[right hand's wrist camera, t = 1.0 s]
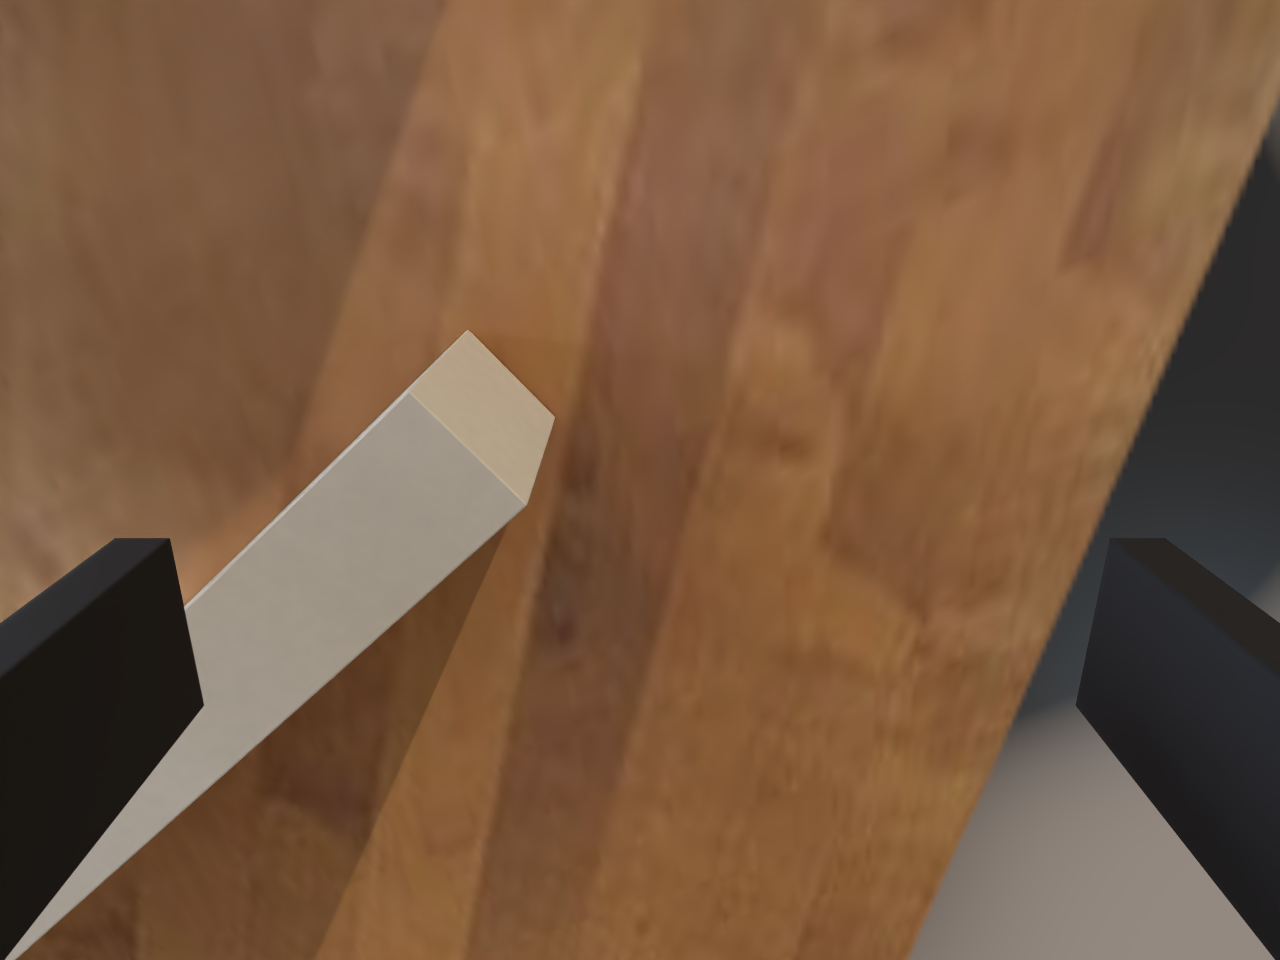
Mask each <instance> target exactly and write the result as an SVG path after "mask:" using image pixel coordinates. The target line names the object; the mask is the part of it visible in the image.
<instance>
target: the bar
mask: <svg viewBox="0 0 1280 960" xmlns="http://www.w3.org/2000/svg"><path fill="white" fill-rule="evenodd" d="M554 420H555V417H554V416H553V415H552V414H551V413H550V412H549V411H548V410H547V409H546V408H545V407H544V405H543V404H542V403H541V402H540V401H539V400H538V399H537V398H536V397H535V396H534V395H533V394H532V393H531V392H530V391H529V390H528V389H527V388H526V387H525V386H524V385H523V384H522V383H521V382H520V381H519V380H518V379H517V378H516V377H515V376H514V375H513V374H512V373H511V372H510V371H509V370H508V369H507V368H506V367H505V366H504V365H503V364H502V363H501V362H500V361H499V360H498V359H497V358H496V357H495V356H494V355H493V354H492V353H491V352H490V351H489V350H488V349H487V348H486V347H485V346H484V345H483V344H482V343H481V342H480V341H479V340H478V339H477V338H476V337H475V336H474V335H473V334H472V333H471V332H470V331H469V330H467V331H466V332H465V333H464V334H463V335H461V336H460V337H459V338H458V339H457V340H456V341H455V342H454V343H453V344H452V345H451V346H450V347H449V348H448V349H447V350H446V351H445V352H444V353H443V354H442V355H441V356H440V357H439V358H438V359H437V360H436V361H435V362H434V363H433V364H432V365H431V366H430V367H429V368H428V369H427V370H426V371H425V372H424V373H423V374H422V375H421V376H420V377H419V378H418V379H417V380H415V381H414V382H413V383H412V384H411V385H410V386H409V387H408V388H407V389H406V390H405V391H404V392H403V393H402V394H401V395H400V396H399V397H398V398H397V399H396V400H395V401H394V402H393V403H392V404H391V405H390V406H389V407H388V408H387V409H386V410H385V411H384V412H383V413H382V414H381V415H380V416H379V417H378V418H377V419H376V420H375V421H374V422H373V423H372V424H371V425H369V426H368V427H367V428H366V429H365V430H364V431H363V432H362V433H361V434H360V435H359V436H358V437H357V438H356V439H355V440H354V441H353V442H352V443H351V444H350V445H349V446H348V447H347V448H346V449H345V450H344V451H343V452H342V453H341V454H340V455H339V456H338V457H337V458H336V459H335V460H334V461H333V462H332V463H331V464H330V465H329V466H328V467H327V468H326V469H325V470H324V471H322V472H321V473H320V474H319V475H318V476H317V477H316V478H315V479H314V480H313V481H312V482H311V483H310V484H309V485H308V486H307V487H306V488H305V489H304V490H303V491H302V492H301V493H300V494H299V495H298V496H297V497H296V498H295V499H294V500H293V501H292V502H291V503H290V504H289V505H288V506H287V507H286V508H285V509H284V510H283V511H282V512H281V513H280V514H279V515H278V516H276V517H275V518H274V519H273V520H272V521H271V522H270V523H269V524H268V525H267V526H266V527H265V528H264V529H263V530H262V531H261V532H260V533H259V534H258V535H257V536H256V537H255V538H254V539H253V540H252V541H251V542H250V543H249V544H248V545H247V546H246V547H245V548H244V549H243V550H242V551H241V552H240V553H239V554H238V555H237V556H236V557H235V558H234V559H233V560H232V561H230V562H229V563H228V564H227V565H226V566H225V567H224V568H223V569H222V570H221V571H220V572H219V573H218V574H217V575H216V576H215V577H214V578H213V579H212V580H211V581H210V582H209V583H208V584H207V585H206V586H205V587H204V588H203V589H202V590H201V591H200V592H199V593H198V594H197V595H196V596H195V597H194V598H193V599H192V600H191V601H190V602H189V603H188V604H187V605H186V606H185V607H184V609H185V614H186V619H187V624H188V629H189V634H190V638H191V643H192V648H193V653H194V658H195V663H196V668H197V672H198V677H199V682H200V687H201V692H202V697H203V702H204V706H203V708H202V709H201V710H200V712H199V713H198V714H197V715H196V717H195V718H194V719H193V720H192V722H191V723H190V724H189V726H188V727H187V728H186V729H185V731H184V732H183V733H182V734H181V736H180V737H179V738H178V740H177V741H176V742H175V743H174V745H173V746H172V747H171V749H170V750H169V751H168V752H167V754H166V755H165V756H164V757H163V759H162V760H161V761H160V763H159V764H158V765H157V766H156V768H155V769H154V770H153V771H152V773H151V774H150V775H149V777H148V778H147V779H146V780H145V782H144V783H143V784H142V785H141V787H140V788H139V789H138V791H137V792H136V793H135V794H134V796H133V797H132V798H131V800H130V801H129V802H128V803H127V805H126V806H125V807H124V808H123V810H122V811H121V812H120V814H119V815H118V816H117V817H116V819H115V820H114V821H113V822H112V824H111V825H110V826H109V828H108V829H107V830H106V831H105V833H104V834H103V835H102V836H101V838H100V839H99V840H98V842H97V843H96V844H95V845H94V847H93V848H92V849H91V851H90V852H89V853H88V854H87V856H86V857H85V858H84V859H83V861H82V862H81V863H80V865H79V866H78V867H77V868H76V870H75V871H74V872H73V873H72V875H71V876H70V877H69V879H68V880H67V881H66V882H65V884H64V885H63V886H62V887H61V889H60V890H59V891H58V893H57V894H56V895H55V896H54V898H53V899H52V900H51V901H50V903H49V904H48V905H47V907H46V908H45V909H44V910H43V912H42V913H41V914H40V916H39V917H38V918H37V919H36V921H35V922H34V923H33V924H32V926H31V927H30V928H29V930H28V931H27V932H26V933H25V935H24V936H23V937H22V938H21V940H20V941H19V942H18V944H17V945H16V946H15V947H14V949H13V950H12V951H11V952H10V954H9V955H8V956H7V958H6V959H5V960H16V959H17V958H18V957H20V956H21V955H22V954H23V953H24V952H25V951H26V950H27V949H29V948H30V947H31V946H32V945H33V944H34V943H35V942H36V941H38V940H39V939H40V938H41V937H42V936H43V935H44V934H45V933H47V932H48V931H49V930H50V929H51V928H52V927H53V926H54V925H56V924H57V923H58V922H59V921H60V920H61V919H62V918H63V917H65V916H66V915H67V914H68V913H69V912H70V911H71V910H72V909H74V908H75V907H76V906H77V905H78V904H79V903H80V902H81V901H83V900H84V899H85V898H86V897H87V896H88V895H89V894H90V893H92V892H93V891H94V890H95V889H96V888H97V887H98V886H99V885H101V884H102V883H103V882H104V881H105V880H106V879H107V878H108V877H110V876H111V875H112V874H113V873H114V872H115V871H116V870H117V869H119V868H120V867H121V866H122V865H123V864H124V863H125V862H126V861H128V860H129V859H130V858H131V857H132V856H133V855H134V854H135V853H137V852H138V851H139V850H140V849H141V848H142V847H143V846H144V845H146V844H147V843H148V842H149V841H150V840H151V839H152V838H153V837H155V836H156V835H157V834H158V833H159V832H160V831H161V830H162V829H164V828H165V827H166V826H167V825H168V824H169V823H170V822H171V821H173V820H174V819H175V818H176V817H177V816H178V815H179V814H180V813H182V812H183V811H184V810H185V809H186V808H187V807H188V806H189V805H191V804H192V803H193V802H194V801H195V800H196V799H197V798H198V797H200V796H201V795H202V794H203V793H204V792H205V791H206V790H207V789H209V788H210V787H211V786H212V785H213V784H214V783H215V782H217V781H218V780H219V779H220V778H221V777H222V776H223V775H224V774H226V773H227V772H228V771H229V770H230V769H231V768H232V767H233V766H235V765H236V764H237V763H238V762H239V761H240V760H241V759H242V758H244V757H245V756H246V755H247V754H248V753H249V752H250V751H251V750H253V749H254V748H255V747H256V746H257V745H258V744H259V743H260V742H262V741H263V740H264V739H265V738H266V737H267V736H268V735H269V734H271V733H272V732H273V731H274V730H275V729H276V728H277V727H278V726H280V725H281V724H282V723H283V722H284V721H285V720H286V719H287V718H289V717H290V716H291V715H292V714H293V713H294V712H295V711H296V710H298V709H299V708H300V707H301V706H302V705H303V704H304V703H305V702H307V701H308V700H309V699H310V698H311V697H312V696H313V695H314V694H316V693H317V692H318V691H319V690H320V689H321V688H322V687H323V686H325V685H326V684H327V683H328V682H329V681H330V680H331V679H332V678H334V677H335V676H336V675H337V674H338V673H339V672H340V671H341V670H343V669H344V668H345V667H346V666H347V665H348V664H349V663H350V662H352V661H353V660H354V659H355V658H356V657H357V656H358V655H359V654H361V653H362V652H363V651H364V650H365V649H366V648H367V647H368V646H370V645H371V644H372V643H373V642H374V641H375V640H376V639H377V638H379V637H380V636H381V635H382V634H383V633H384V632H385V631H386V630H388V629H389V628H390V627H391V626H392V625H393V624H394V623H395V622H397V621H398V620H399V619H400V618H401V617H402V616H403V615H404V614H406V613H407V612H408V611H409V610H410V609H411V608H412V607H413V606H415V605H416V604H417V603H418V602H419V601H420V600H421V599H422V598H424V597H425V596H426V595H427V594H428V593H429V592H430V591H431V590H433V589H434V588H435V587H436V586H437V585H438V584H439V583H440V582H442V581H443V580H444V579H445V578H446V577H447V576H448V575H449V574H451V573H452V572H453V571H454V570H455V569H456V568H457V567H459V566H460V565H461V564H462V563H463V562H464V561H465V560H466V559H468V558H469V557H470V556H471V555H472V554H473V553H474V552H475V551H477V550H478V549H479V548H480V547H481V546H482V545H483V544H484V543H486V542H487V541H488V540H489V539H490V538H491V537H492V536H493V535H495V534H496V533H497V532H498V531H499V530H500V529H501V528H502V527H504V526H505V525H506V524H507V523H508V522H509V521H510V520H511V519H513V518H514V517H515V516H516V515H517V514H518V513H519V512H520V511H522V510H523V509H524V508H525V507H526V506H527V504H528V501H529V498H530V495H531V492H532V488H533V485H534V482H535V479H536V476H537V473H538V470H539V467H540V464H541V461H542V458H543V454H544V451H545V448H546V445H547V442H548V439H549V436H550V433H551V430H552V427H553V424H554Z"/></svg>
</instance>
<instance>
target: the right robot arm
mask: <svg viewBox="0 0 1280 960" xmlns="http://www.w3.org/2000/svg"><path fill="white" fill-rule="evenodd" d="M203 706H204V702H203V697H202V692H201V687H200V682H199V677H198V672H197V668H196V663H195V658H194V653H193V648H192V643H191V638H190V634H189V629H188V624H187V619H186V614H185V609H184V604H183V600H182V595H181V590H180V585H179V580H178V575H177V570H176V566H175V561H174V556H173V551H172V546H171V541H170V538H115V539H113V540H112V541H111V542H109V543H108V544H107V545H105V546H104V547H103V548H101V549H100V550H99V551H97V552H96V553H95V554H93V555H92V556H90V557H89V558H88V559H86V560H85V561H84V562H82V563H81V564H80V565H78V566H77V567H76V568H74V569H73V570H72V571H70V572H69V573H67V574H66V575H65V576H63V577H62V578H61V579H59V580H58V581H57V582H55V583H54V584H53V585H51V586H50V587H49V588H47V589H46V590H45V591H43V592H42V593H40V594H39V595H38V596H36V597H35V598H34V599H32V600H31V601H30V602H28V603H27V604H26V605H24V606H23V607H22V608H20V609H19V610H17V611H16V612H15V613H13V614H12V615H11V616H9V617H8V618H7V619H5V620H4V621H3V622H1V623H0V960H5V959H6V958H7V956H8V955H9V954H10V952H11V951H12V950H13V949H14V947H15V946H16V945H17V944H18V942H19V941H20V940H21V938H22V937H23V936H24V935H25V933H26V932H27V931H28V930H29V928H30V927H31V926H32V924H33V923H34V922H35V921H36V919H37V918H38V917H39V916H40V914H41V913H42V912H43V910H44V909H45V908H46V907H47V905H48V904H49V903H50V901H51V900H52V899H53V898H54V896H55V895H56V894H57V893H58V891H59V890H60V889H61V887H62V886H63V885H64V884H65V882H66V881H67V880H68V879H69V877H70V876H71V875H72V873H73V872H74V871H75V870H76V868H77V867H78V866H79V865H80V863H81V862H82V861H83V859H84V858H85V857H86V856H87V854H88V853H89V852H90V851H91V849H92V848H93V847H94V845H95V844H96V843H97V842H98V840H99V839H100V838H101V836H102V835H103V834H104V833H105V831H106V830H107V829H108V828H109V826H110V825H111V824H112V822H113V821H114V820H115V819H116V817H117V816H118V815H119V814H120V812H121V811H122V810H123V808H124V807H125V806H126V805H127V803H128V802H129V801H130V800H131V798H132V797H133V796H134V794H135V793H136V792H137V791H138V789H139V788H140V787H141V785H142V784H143V783H144V782H145V780H146V779H147V778H148V777H149V775H150V774H151V773H152V771H153V770H154V769H155V768H156V766H157V765H158V764H159V763H160V761H161V760H162V759H163V757H164V756H165V755H166V754H167V752H168V751H169V750H170V749H171V747H172V746H173V745H174V743H175V742H176V741H177V740H178V738H179V737H180V736H181V734H182V733H183V732H184V731H185V729H186V728H187V727H188V726H189V724H190V723H191V722H192V720H193V719H194V718H195V717H196V715H197V714H198V713H199V712H200V710H201V709H202V708H203ZM1076 706H1077V708H1078V709H1079V710H1080V712H1081V713H1082V714H1083V715H1084V717H1085V718H1086V719H1087V720H1088V722H1089V723H1090V724H1091V726H1092V727H1093V728H1094V729H1095V731H1096V732H1097V733H1098V734H1099V736H1100V737H1101V738H1102V740H1103V741H1104V742H1105V743H1106V745H1107V746H1108V747H1109V749H1110V750H1111V751H1112V752H1113V754H1114V755H1115V756H1116V757H1117V759H1118V760H1119V761H1120V763H1121V764H1122V765H1123V766H1124V768H1125V769H1126V770H1127V771H1128V773H1129V774H1130V775H1131V776H1132V778H1133V779H1134V780H1135V782H1136V783H1137V784H1138V785H1139V787H1140V788H1141V789H1142V791H1143V792H1144V793H1145V794H1146V796H1147V797H1148V798H1149V799H1150V801H1151V802H1152V803H1153V805H1154V806H1155V807H1156V808H1157V810H1158V811H1159V812H1160V814H1161V815H1162V816H1163V817H1164V819H1165V820H1166V821H1167V822H1168V824H1169V825H1170V826H1171V827H1172V829H1173V830H1174V831H1175V833H1176V834H1177V835H1178V836H1179V838H1180V839H1181V840H1182V841H1183V843H1184V844H1185V845H1186V847H1187V848H1188V849H1189V850H1190V852H1191V853H1192V854H1193V856H1194V857H1195V858H1196V859H1197V861H1198V862H1199V863H1200V865H1201V866H1202V867H1203V868H1204V870H1205V871H1206V872H1207V873H1208V875H1209V876H1210V877H1211V879H1212V880H1213V881H1214V882H1215V884H1216V885H1217V886H1218V887H1219V889H1220V890H1221V891H1222V892H1223V894H1224V895H1225V896H1226V898H1227V899H1228V900H1229V901H1230V903H1231V904H1232V905H1233V907H1234V908H1235V909H1236V910H1237V912H1238V913H1239V914H1240V916H1241V917H1242V918H1243V919H1244V921H1245V922H1246V923H1247V924H1248V926H1249V927H1250V928H1251V929H1252V931H1253V932H1254V933H1255V935H1256V936H1257V937H1258V938H1259V940H1260V941H1261V942H1262V943H1263V945H1264V946H1265V947H1266V949H1267V950H1268V951H1269V952H1270V954H1271V955H1272V956H1273V958H1274V959H1275V960H1280V623H1279V622H1277V621H1276V620H1275V619H1273V618H1272V617H1271V616H1269V615H1268V614H1267V613H1265V612H1264V611H1263V610H1261V609H1260V608H1258V607H1257V606H1256V605H1254V604H1253V603H1252V602H1250V601H1249V600H1248V599H1246V598H1245V597H1244V596H1242V595H1241V594H1240V593H1238V592H1237V591H1235V590H1234V589H1233V588H1231V587H1230V586H1229V585H1227V584H1226V583H1225V582H1223V581H1222V580H1221V579H1219V578H1218V577H1216V576H1215V575H1214V574H1213V573H1211V572H1210V571H1208V570H1207V569H1206V568H1204V567H1203V566H1202V565H1200V564H1199V563H1198V562H1196V561H1195V560H1194V559H1192V558H1191V557H1189V556H1188V555H1187V554H1185V553H1184V552H1183V551H1181V550H1180V549H1179V548H1177V547H1176V546H1175V545H1173V544H1172V543H1171V542H1169V541H1168V540H1167V539H1165V538H1110V542H1109V546H1108V551H1107V556H1106V561H1105V566H1104V570H1103V576H1102V580H1101V585H1100V590H1099V595H1098V600H1097V604H1096V609H1095V615H1094V619H1093V624H1092V629H1091V634H1090V639H1089V643H1088V648H1087V653H1086V658H1085V663H1084V668H1083V672H1082V677H1081V682H1080V687H1079V692H1078V697H1077V702H1076Z"/></svg>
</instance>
